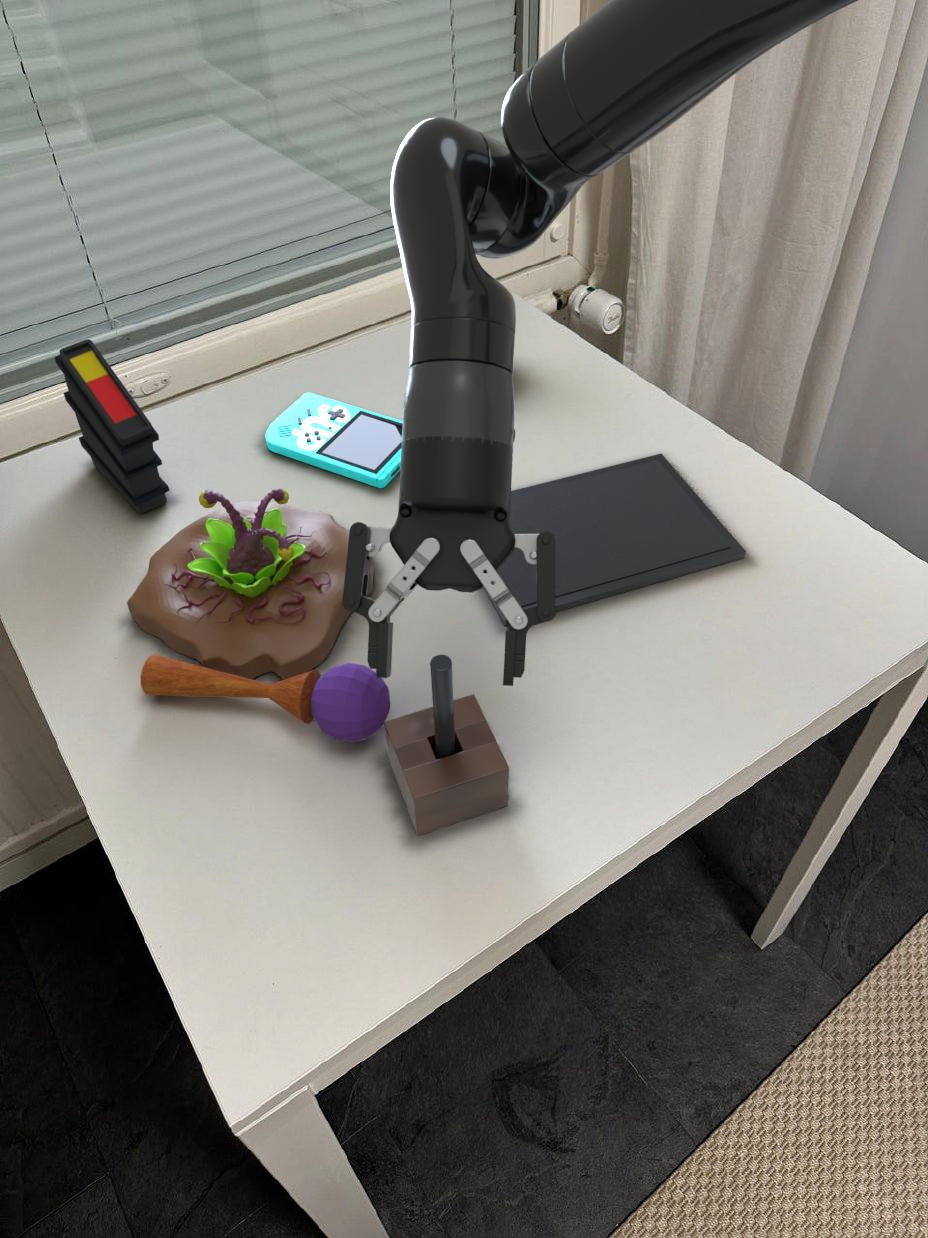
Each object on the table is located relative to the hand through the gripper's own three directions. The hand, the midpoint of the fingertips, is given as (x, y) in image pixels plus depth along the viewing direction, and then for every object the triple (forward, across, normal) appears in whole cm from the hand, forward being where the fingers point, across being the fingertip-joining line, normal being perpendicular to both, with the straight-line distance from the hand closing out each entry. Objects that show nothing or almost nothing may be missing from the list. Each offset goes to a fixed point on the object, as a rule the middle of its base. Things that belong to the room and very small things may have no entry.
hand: (445, 680), depth 61 cm
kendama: (+4, -15, +10) cm, 18 cm away
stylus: (+8, 0, +6) cm, 10 cm away
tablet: (-12, +11, +26) cm, 30 cm away
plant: (-5, -19, +19) cm, 27 cm away
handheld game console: (-21, -15, +35) cm, 44 cm away
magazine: (-14, -35, +29) cm, 47 cm away
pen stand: (+8, 0, +6) cm, 10 cm away
